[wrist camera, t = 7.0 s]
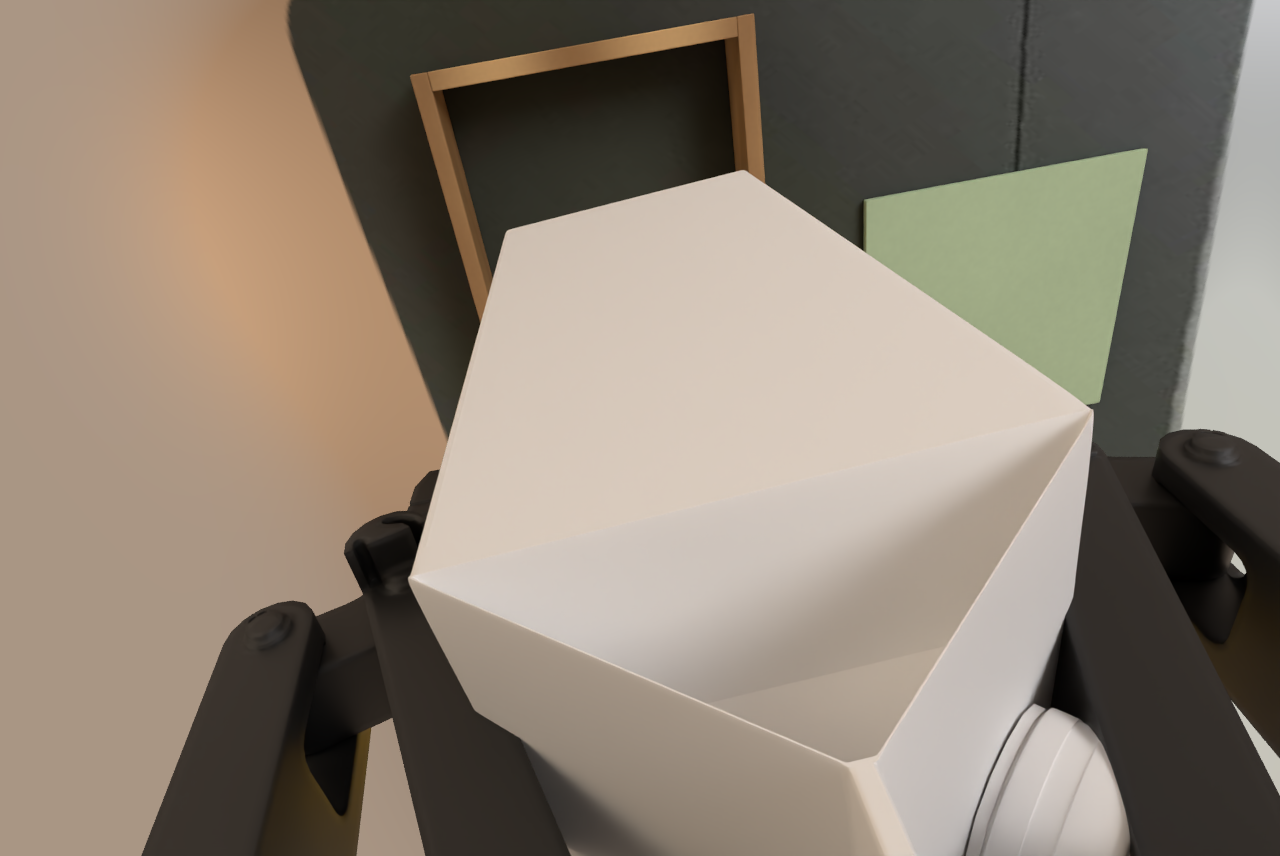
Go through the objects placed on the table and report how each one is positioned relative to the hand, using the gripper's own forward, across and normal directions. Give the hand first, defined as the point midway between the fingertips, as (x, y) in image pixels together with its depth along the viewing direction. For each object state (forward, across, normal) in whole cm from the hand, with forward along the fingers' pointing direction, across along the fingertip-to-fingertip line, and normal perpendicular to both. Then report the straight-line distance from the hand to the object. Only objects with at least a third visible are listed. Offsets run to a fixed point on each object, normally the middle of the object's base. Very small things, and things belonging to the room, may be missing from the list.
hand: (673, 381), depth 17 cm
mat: (+23, +22, -10) cm, 33 cm away
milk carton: (+5, 0, 0) cm, 5 cm away
